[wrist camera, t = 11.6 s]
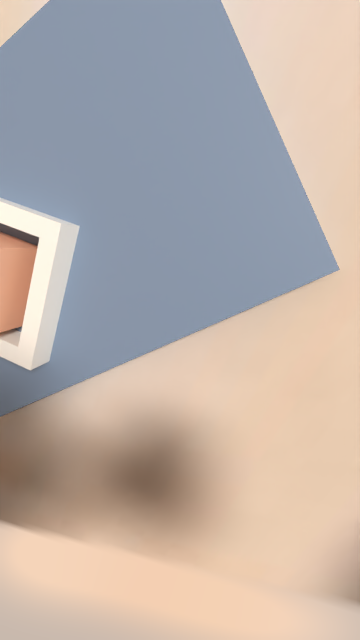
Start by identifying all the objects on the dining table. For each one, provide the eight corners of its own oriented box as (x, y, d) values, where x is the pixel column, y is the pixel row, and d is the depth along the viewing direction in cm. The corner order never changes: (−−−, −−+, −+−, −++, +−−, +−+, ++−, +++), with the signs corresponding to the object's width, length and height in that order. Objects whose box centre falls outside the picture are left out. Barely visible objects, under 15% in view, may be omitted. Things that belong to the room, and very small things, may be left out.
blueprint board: (334, 268, 16) (339, 269, 14) (7, 411, 23) (-7, 419, 21) (178, -86, 14) (170, -114, 13) (-114, 179, 22) (-136, 175, 20)
